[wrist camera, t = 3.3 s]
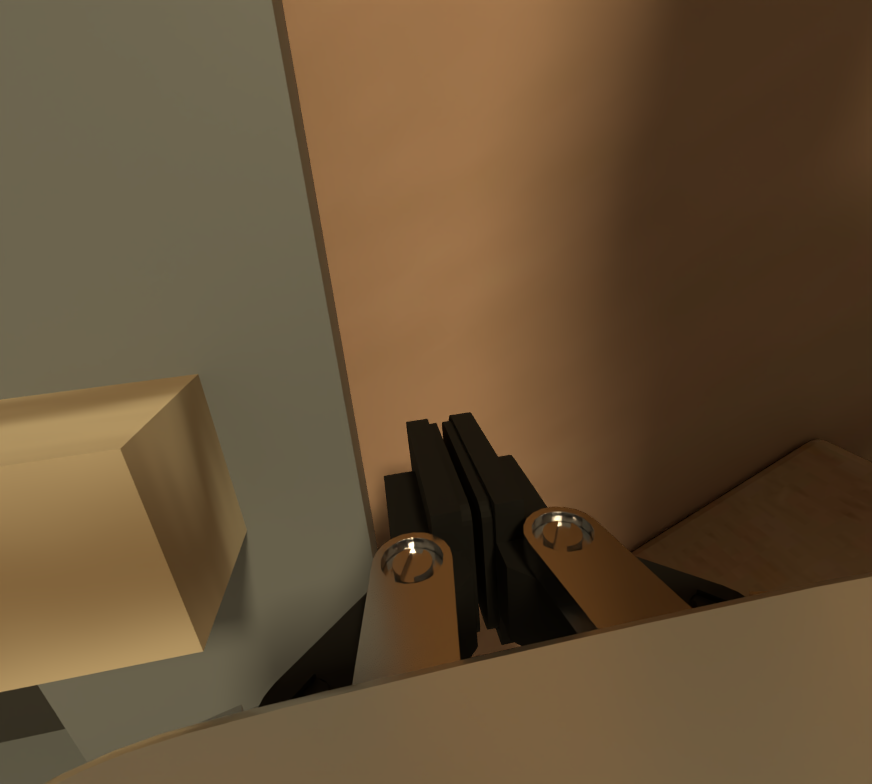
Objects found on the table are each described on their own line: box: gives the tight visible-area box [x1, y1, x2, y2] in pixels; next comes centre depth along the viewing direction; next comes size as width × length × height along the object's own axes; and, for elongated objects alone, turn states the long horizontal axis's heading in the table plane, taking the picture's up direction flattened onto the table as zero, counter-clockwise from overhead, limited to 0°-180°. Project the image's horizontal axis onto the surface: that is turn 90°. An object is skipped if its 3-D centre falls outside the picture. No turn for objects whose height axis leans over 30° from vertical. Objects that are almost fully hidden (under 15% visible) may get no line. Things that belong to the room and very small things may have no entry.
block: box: [0, 374, 247, 692], centre depth 10 cm, size 5×5×4 cm
